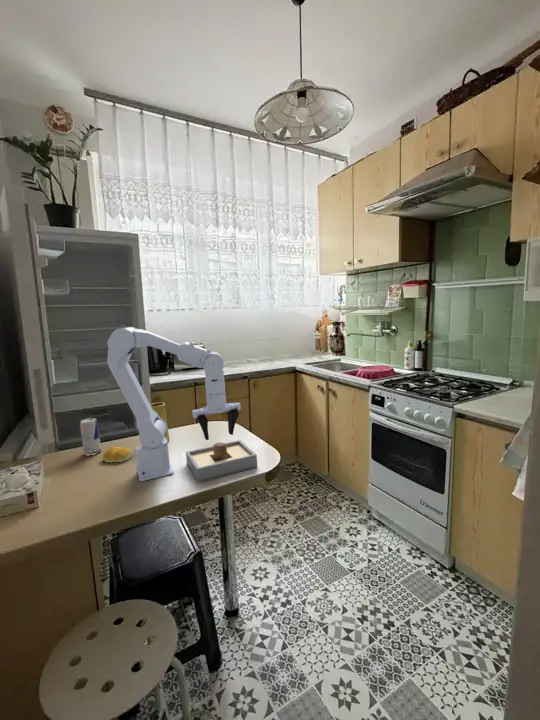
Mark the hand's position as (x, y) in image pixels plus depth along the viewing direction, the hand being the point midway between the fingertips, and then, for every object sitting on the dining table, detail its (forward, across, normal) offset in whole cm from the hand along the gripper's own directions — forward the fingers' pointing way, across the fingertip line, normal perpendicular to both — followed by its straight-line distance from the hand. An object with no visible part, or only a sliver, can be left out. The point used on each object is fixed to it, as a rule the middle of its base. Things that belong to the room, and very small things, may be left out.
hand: (219, 436), depth 108 cm
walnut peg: (+9, 0, 0) cm, 9 cm away
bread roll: (+10, -28, +24) cm, 38 cm away
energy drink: (+10, -36, +34) cm, 50 cm away
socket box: (+9, 0, 0) cm, 9 cm away
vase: (+10, -13, +32) cm, 36 cm away
